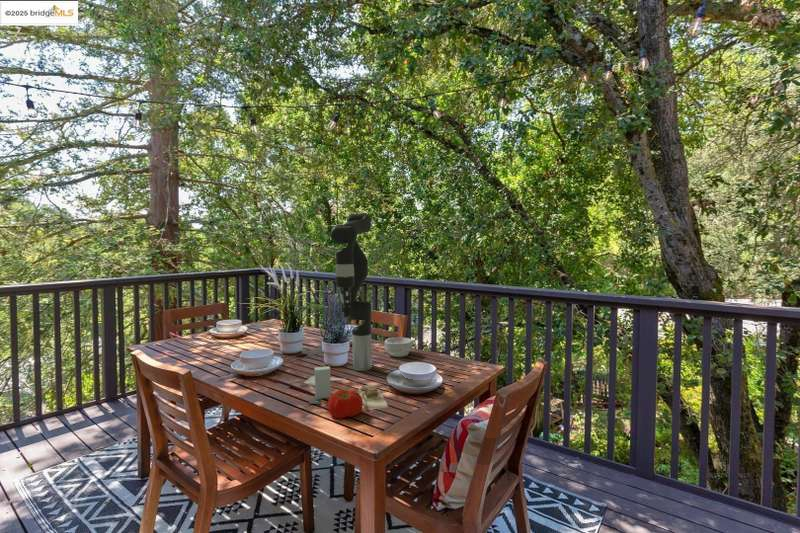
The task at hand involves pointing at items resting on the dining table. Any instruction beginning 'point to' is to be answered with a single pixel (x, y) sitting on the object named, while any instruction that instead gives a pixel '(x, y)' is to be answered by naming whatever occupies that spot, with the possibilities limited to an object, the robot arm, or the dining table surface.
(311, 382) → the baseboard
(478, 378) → the dining table surface
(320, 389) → the pale green block
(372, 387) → the offcut top
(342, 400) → the tomato
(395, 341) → the paper bowls
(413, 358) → the dining table surface
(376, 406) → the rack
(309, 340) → the dining table surface
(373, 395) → the offcut low
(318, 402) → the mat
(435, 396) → the dining table surface
